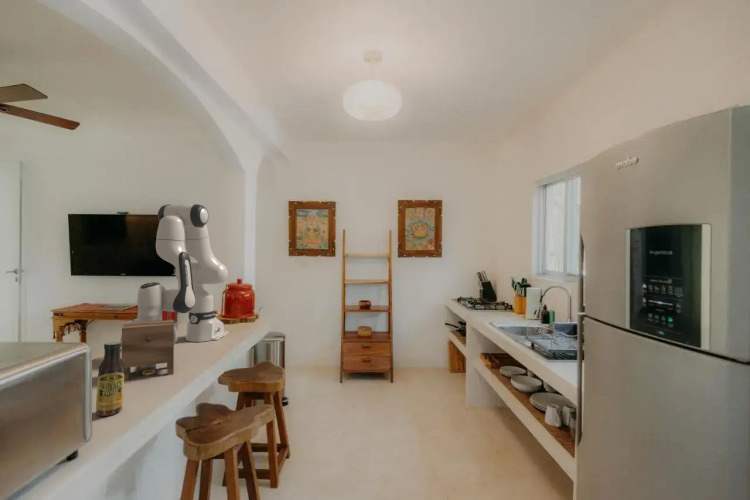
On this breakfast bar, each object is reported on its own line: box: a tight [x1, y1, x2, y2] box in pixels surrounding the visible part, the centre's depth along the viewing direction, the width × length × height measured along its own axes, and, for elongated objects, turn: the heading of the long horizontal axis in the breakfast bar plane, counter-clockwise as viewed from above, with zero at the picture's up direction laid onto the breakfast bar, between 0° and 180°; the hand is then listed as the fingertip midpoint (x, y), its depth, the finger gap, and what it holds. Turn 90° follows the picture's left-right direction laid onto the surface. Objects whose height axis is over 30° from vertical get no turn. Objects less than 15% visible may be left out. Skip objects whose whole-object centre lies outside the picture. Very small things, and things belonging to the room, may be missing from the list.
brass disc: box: [141, 369, 156, 376], centre depth 139 cm, size 4×4×1 cm
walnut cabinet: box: [121, 319, 175, 382], centre depth 138 cm, size 11×16×18 cm
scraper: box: [139, 364, 157, 372], centre depth 149 cm, size 18×5×4 cm, turn 30°
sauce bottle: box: [95, 340, 125, 417], centre depth 106 cm, size 6×6×20 cm
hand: (149, 355), depth 155 cm, fingers closed on scraper, 2 cm apart
